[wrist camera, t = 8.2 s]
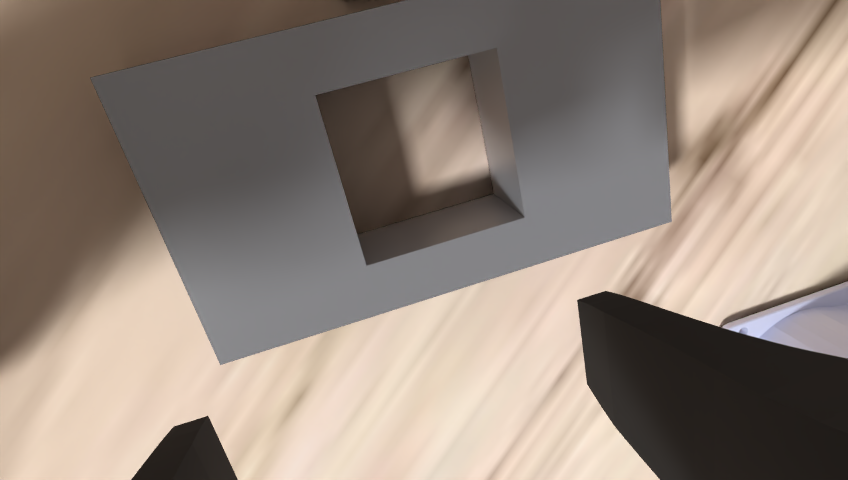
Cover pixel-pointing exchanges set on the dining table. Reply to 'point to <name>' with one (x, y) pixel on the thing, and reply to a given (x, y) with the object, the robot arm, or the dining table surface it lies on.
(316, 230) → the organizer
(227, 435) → the dining table surface
